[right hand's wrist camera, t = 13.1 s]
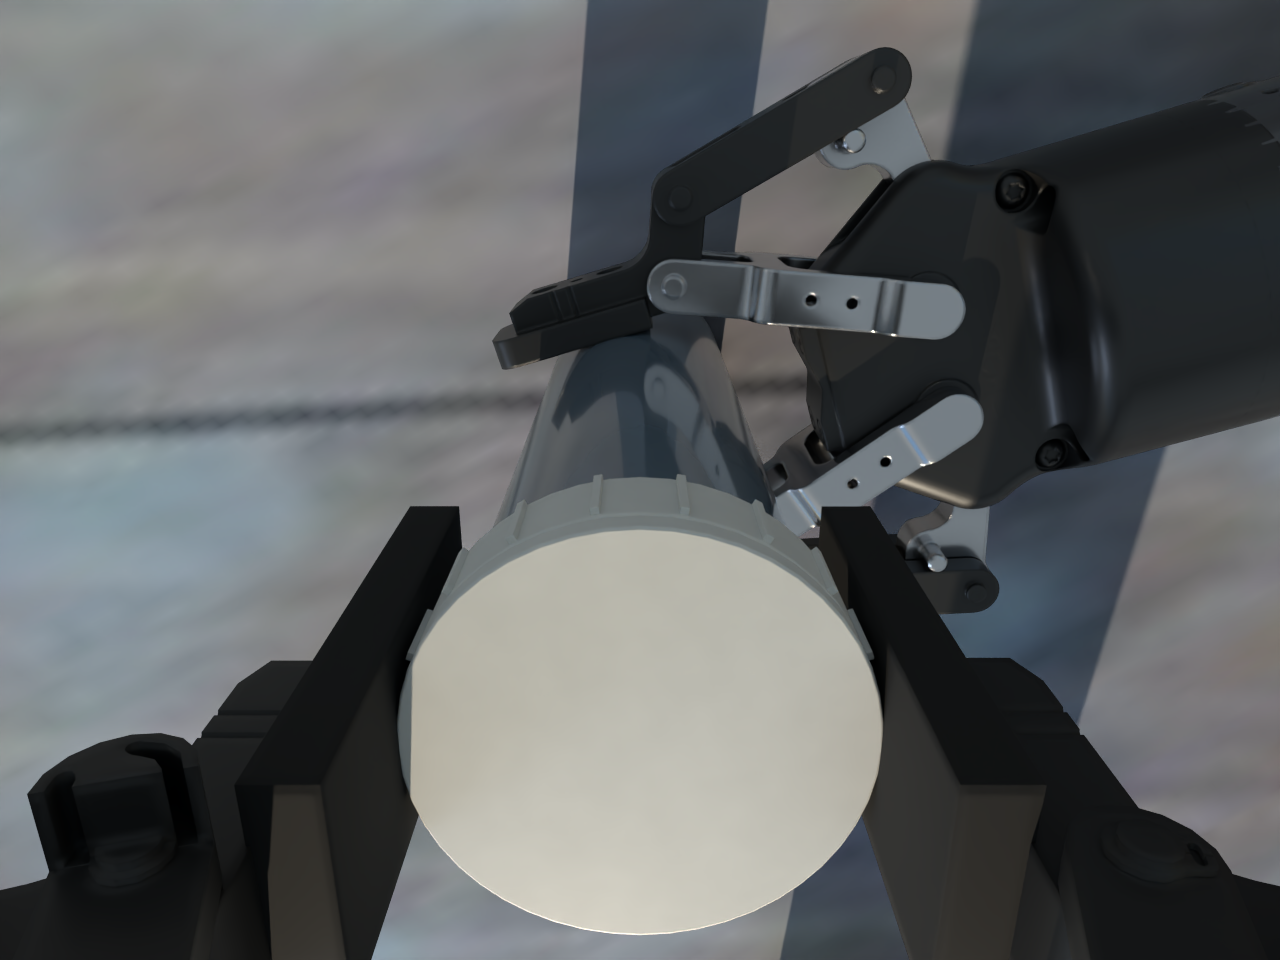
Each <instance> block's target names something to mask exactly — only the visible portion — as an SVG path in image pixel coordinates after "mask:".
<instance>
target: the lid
mask: <svg viewBox="0 0 1280 960" xmlns="http://www.w3.org/2000/svg"><path fill="white" fill-rule="evenodd" d="M872 659H874V655H873V652H872V649H871V647H870V645H869V643H868V641H867V639H866V636H865V634H864V632H863V630H862V628H861V625H860V623H859V621H858V619H857V617H856V614H855V612H854V610H853V609H849V610H847V609H846V607H845V604H844V602H843V600H842V598H841V596H840V594H839V592H838V589H837V587H836V585H835V583H834V580H833V578H832V576H831V573H830V571H829V569H828V567H827V564H826V562H825V560H824V558H823V555H822V553H821V551H820V550H819V549H818V548H817V547H815V548H814V549H812V550H810V549H809V548H808V547H807V546H806V544H805V543H804V542H803V541H802V540H801V539H800V538H799V537H798V536H796V535H795V534H794V533H793V532H792V531H790V530H789V529H788V528H787V527H786V526H785V525H783V524H782V523H781V522H780V521H778V520H777V519H775V518H774V517H772V516H770V515H769V514H767V513H766V512H765V509H764V506H763V503H762V502H760V501H758V500H756V499H755V500H754V502H753V503H752V504H750V503H748V502H746V501H744V500H742V499H739V498H737V497H735V496H733V495H731V494H729V493H726V492H722V491H719V490H716V489H713V488H710V487H707V486H704V485H700V484H695V483H690V482H687V481H686V475H681V474H677V477H676V480H674V479H664V478H647V477H633V478H617V479H607V480H603V475H602V474H600V475H594V478H593V482H591V483H585V484H580V485H577V486H574V487H570V488H567V489H564V490H561V491H558V492H555V493H552V494H549V495H547V496H545V497H543V498H541V499H539V500H537V501H535V502H532V503H530V504H527V503H526V501H525V500H523V501H521V502H519V503H517V506H516V509H515V512H514V513H513V514H512V515H510V516H508V517H507V518H505V519H504V520H502V521H501V522H499V523H498V524H497V525H496V526H495V527H493V528H492V529H491V530H490V531H489V532H488V533H486V534H485V535H484V536H483V537H482V538H481V539H479V540H478V541H477V543H476V544H475V545H474V546H473V547H472V548H471V549H470V550H469V551H468V550H467V549H465V548H462V549H461V551H460V552H459V553H458V556H457V558H456V560H455V562H454V565H453V567H452V569H451V571H450V574H449V576H448V578H447V580H446V583H445V585H444V587H443V590H442V592H441V595H440V597H439V599H438V601H437V603H436V605H435V608H434V610H433V611H432V610H429V609H427V611H426V613H425V615H424V618H423V620H422V622H421V624H420V626H419V629H418V631H417V633H416V635H415V637H414V639H413V642H412V644H411V646H410V648H409V650H408V653H407V656H406V660H408V661H411V662H410V664H409V666H408V669H407V672H406V676H405V679H404V683H403V686H402V690H401V693H400V699H399V707H398V716H397V731H398V741H399V751H400V759H401V767H402V773H403V777H404V780H405V783H406V786H407V789H408V792H409V794H410V797H411V800H412V802H413V804H414V806H415V808H416V810H417V812H418V814H419V816H420V818H421V819H422V821H423V823H424V825H425V826H426V828H427V829H428V831H429V832H430V833H431V835H432V836H433V838H434V839H435V840H436V842H437V843H438V845H439V846H440V847H441V848H442V849H443V850H444V852H445V853H446V854H447V855H448V856H449V857H450V858H451V859H452V860H453V861H454V862H455V863H456V864H457V865H458V866H459V867H460V868H461V869H462V870H463V871H465V872H466V873H467V874H468V875H469V876H471V877H472V878H473V879H474V880H475V881H477V882H478V883H479V884H480V885H482V886H483V887H485V888H486V889H488V890H489V891H491V892H493V893H494V894H496V895H497V896H499V897H500V898H502V899H503V900H505V901H507V902H509V903H511V904H513V905H515V906H517V907H519V908H521V909H523V910H525V911H527V912H530V913H532V914H535V915H538V916H540V917H543V918H546V919H549V920H551V921H554V922H557V923H561V924H565V925H569V926H573V927H577V928H581V929H585V930H592V931H599V932H605V933H613V934H634V935H647V934H667V933H675V932H682V931H688V930H695V929H700V928H704V927H708V926H712V925H715V924H719V923H723V922H727V921H729V920H732V919H735V918H737V917H740V916H743V915H745V914H748V913H751V912H753V911H755V910H757V909H759V908H761V907H763V906H765V905H767V904H769V903H771V902H773V901H775V900H777V899H779V898H780V897H782V896H783V895H785V894H786V893H788V892H789V891H791V890H792V889H794V888H796V887H797V886H799V885H800V884H802V883H803V882H804V881H805V880H806V879H808V878H809V877H810V876H811V875H812V874H813V873H815V872H816V871H817V870H818V869H819V868H821V867H822V866H823V865H824V864H825V863H826V862H827V861H828V859H829V858H830V857H831V856H832V855H833V854H834V853H835V852H836V851H837V850H838V849H839V848H840V847H841V845H842V844H843V842H844V841H845V840H846V838H847V837H848V835H849V834H850V833H851V831H852V830H853V828H854V827H855V826H856V824H857V822H858V820H859V818H860V816H861V815H862V813H863V811H864V809H865V807H866V805H867V803H868V801H869V799H870V796H871V793H872V790H873V787H874V784H875V781H876V778H877V776H878V770H879V764H880V755H881V746H882V736H883V722H884V721H883V712H882V704H881V696H880V692H879V688H878V685H877V681H876V678H875V675H874V671H873V668H872V665H871V663H870V661H869V660H872Z"/></svg>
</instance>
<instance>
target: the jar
mask: <svg viewBox="0 0 1280 960" xmlns="http://www.w3.org/2000/svg"><path fill="white" fill-rule="evenodd" d="M652 321H653V328H652V329H648V330H645V331H641V332H638V333H634V334H631V335H627V336H624V337H620V338H616V339H611V340H608V341H605V342H602V343H599V344H596V345H593V346H589V347H586V348H583V349H579V350H576V351H572V352H569V353H565V354H562V355H559V356H558V359H557V361H556V364H555V367H554V369H553V372H552V374H551V377H550V380H549V382H548V385H547V388H546V390H545V393H544V395H543V398H542V401H541V403H540V406H539V408H538V411H537V414H536V416H535V419H534V421H533V424H532V427H531V429H530V432H529V435H528V437H527V440H526V442H525V445H524V448H523V450H522V453H521V455H520V458H519V461H518V463H517V466H516V468H515V471H514V474H513V476H512V479H511V482H510V484H509V487H508V489H507V492H506V495H505V497H504V500H503V502H502V505H501V508H500V510H499V513H498V515H497V518H496V521H495V523H494V526H493V527H495V526H496V525H497V524H498V523H499V522H501V521H502V520H504V519H505V518H507V517H508V516H510V515H512V514H513V513H514V512H515V509H516V506H517V503H519V502H521V501H523V500H525V501H526V503H527V504H530V503H532V502H535V501H537V500H539V499H541V498H543V497H545V496H547V495H549V494H552V493H555V492H558V491H561V490H564V489H567V488H570V487H574V486H577V485H580V484H585V483H591V482H593V478H594V475H600V474H602V475H603V480H607V479H617V478H633V477H647V478H664V479H674V480H676V477H677V474H681V475H686V481H687V482H690V483H695V484H700V485H704V486H707V487H710V488H713V489H716V490H719V491H722V492H726V493H729V494H731V495H733V496H735V497H737V498H739V499H742V500H744V501H746V502H748V503H750V504H752V503H753V502H754V500H755V499H756V500H758V501H760V502H762V503H763V506H764V509H765V512H766V513H767V514H769V515H770V516H772V517H774V518H775V519H777V520H778V521H780V522H781V523H782V524H783V525H785V526H786V527H787V525H786V523H785V520H784V517H783V515H782V512H781V510H780V507H779V504H778V502H777V499H776V497H775V494H774V491H773V489H772V486H771V483H770V481H769V478H768V476H767V473H766V470H765V468H764V465H763V463H762V460H761V457H760V455H759V452H758V450H757V447H756V444H755V442H754V439H753V437H752V434H751V431H750V429H749V426H748V424H747V421H746V418H745V416H744V413H743V410H742V408H741V405H740V403H739V400H738V397H737V395H736V392H735V390H734V387H733V384H732V382H731V379H730V377H729V374H728V371H727V369H726V366H725V364H724V361H723V358H722V356H721V353H720V351H719V348H718V345H717V343H716V340H715V337H714V335H713V333H712V331H711V329H710V327H709V325H708V323H707V322H706V320H705V319H704V317H703V316H696V315H683V314H671V313H664V314H660V315H657V316H653V317H652Z"/></svg>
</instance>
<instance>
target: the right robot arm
mask: <svg viewBox="0 0 1280 960" xmlns="http://www.w3.org/2000/svg"><path fill="white" fill-rule="evenodd" d="M461 549H462V541H461V527H460V514H459V506H410V508H409V509H408V511H407V512H406V514H405V516H404V517H403V519H402V520H401V522H400V524H399V525H398V527H397V528H396V530H395V531H394V533H393V535H392V536H391V538H390V539H389V541H388V542H387V544H386V546H385V547H384V549H383V550H382V552H381V554H380V555H379V557H378V558H377V560H376V561H375V563H374V565H373V566H372V568H371V569H370V571H369V573H368V574H367V576H366V577H365V579H364V580H363V582H362V584H361V585H360V587H359V588H358V590H357V591H356V593H355V595H354V596H353V598H352V599H351V601H350V603H349V604H348V606H347V607H346V609H345V610H344V612H343V614H342V615H341V617H340V618H339V620H338V622H337V623H336V625H335V626H334V628H333V629H332V631H331V633H330V634H329V636H328V637H327V639H326V640H325V642H324V644H323V645H322V647H321V648H320V650H319V652H318V653H317V655H316V656H315V658H314V659H313V661H270V662H269V663H267V664H266V665H264V666H263V667H261V668H260V669H259V670H257V671H256V672H254V673H253V674H251V675H250V676H248V677H247V678H245V679H244V680H242V681H241V682H239V683H238V684H237V686H236V687H235V688H234V690H233V691H232V692H231V694H230V695H229V696H228V698H227V699H226V700H225V702H224V703H223V704H222V706H221V707H220V708H219V710H218V715H214V716H213V718H212V719H211V720H210V722H209V723H208V724H207V726H206V727H205V729H204V730H203V731H202V736H201V738H197V739H196V741H195V742H194V743H193V745H191V744H190V743H188V742H187V741H186V740H185V739H184V738H180V737H176V736H171V735H167V734H162V733H154V734H135V735H128V736H124V737H120V738H116V739H112V740H108V741H104V742H100V743H98V744H96V745H93V746H91V747H89V748H87V749H84V750H82V751H80V752H78V753H75V754H73V755H71V756H69V757H67V758H66V759H64V760H63V761H62V762H60V763H59V764H57V765H56V766H54V767H53V768H52V769H50V770H49V771H47V772H46V773H44V774H43V775H42V776H41V778H40V779H39V780H38V781H37V783H36V784H35V785H34V786H33V788H32V789H31V790H30V791H29V793H28V794H27V795H28V799H29V802H30V806H31V809H32V813H33V816H34V820H35V823H36V827H37V830H38V834H39V837H40V841H41V844H42V848H43V851H44V855H45V858H46V862H47V865H48V869H49V874H48V876H47V878H46V879H43V880H40V881H36V882H33V883H29V884H26V885H21V886H17V887H13V888H8V889H4V890H0V960H371V959H372V956H373V952H374V949H375V946H376V943H377V940H378V937H379V934H380V931H381V928H382V925H383V922H384V919H385V916H386V913H387V910H388V907H389V904H390V901H391V898H392V895H393V892H394V889H395V886H396V883H397V880H398V877H399V874H400V870H401V867H402V864H403V861H404V858H405V855H406V852H407V849H408V846H409V843H410V840H411V837H412V834H413V831H414V828H415V825H416V822H417V819H418V816H419V814H418V812H417V810H416V808H415V806H414V804H413V802H412V800H411V797H410V794H409V792H408V789H407V786H406V783H405V780H404V777H403V773H402V767H401V759H400V751H399V741H398V731H397V716H398V707H399V699H400V693H401V690H402V686H403V683H404V679H405V676H406V672H407V669H408V666H409V664H410V662H411V661H408V660H406V656H407V653H408V650H409V648H410V646H411V644H412V642H413V639H414V637H415V635H416V633H417V631H418V629H419V626H420V624H421V622H422V620H423V618H424V615H425V613H426V611H427V609H429V610H432V611H433V610H434V608H435V605H436V603H437V601H438V599H439V597H440V595H441V592H442V590H443V587H444V585H445V583H446V580H447V578H448V576H449V574H450V571H451V569H452V567H453V565H454V562H455V560H456V558H457V556H458V553H459V552H460V551H461ZM818 549H819V550H820V551H821V553H822V555H823V558H824V560H825V562H826V564H827V567H828V569H829V571H830V573H831V576H832V578H833V580H834V583H835V585H836V587H837V589H838V592H839V594H840V596H841V598H842V600H843V602H844V604H845V607H846V609H847V610H849V609H853V610H854V612H855V614H856V617H857V619H858V621H859V623H860V625H861V628H862V630H863V632H864V634H865V636H866V639H867V641H868V643H869V645H870V647H871V649H872V652H873V655H874V659H872V660H869V661H870V663H871V665H872V668H873V671H874V675H875V678H876V681H877V685H878V688H879V692H880V696H881V704H882V712H883V721H884V722H883V736H882V746H881V755H880V764H879V770H878V776H877V778H876V781H875V784H874V787H873V790H872V793H871V796H870V799H869V801H868V803H867V805H866V807H865V809H864V811H863V813H862V817H863V820H864V823H865V826H866V829H867V832H868V835H869V839H870V842H871V845H872V848H873V851H874V854H875V857H876V860H877V863H878V866H879V869H880V872H881V875H882V878H883V881H884V884H885V887H886V890H887V893H888V896H889V899H890V902H891V905H892V908H893V911H894V914H895V917H896V921H897V924H898V927H899V930H900V933H901V936H902V939H903V942H904V945H905V948H906V951H907V954H908V957H909V960H1280V886H1276V885H1272V884H1267V883H1263V882H1259V881H1254V880H1251V879H1247V878H1244V877H1241V876H1237V875H1234V874H1232V872H1231V870H1230V869H1229V867H1228V866H1227V864H1226V863H1225V861H1224V860H1223V859H1222V857H1221V856H1220V854H1219V853H1218V851H1217V850H1216V849H1215V848H1214V847H1213V846H1211V845H1210V844H1209V843H1208V842H1206V841H1205V840H1204V839H1203V838H1201V837H1200V836H1199V835H1198V834H1196V833H1195V832H1194V831H1193V830H1191V829H1189V828H1187V827H1185V826H1183V825H1181V824H1179V823H1177V822H1175V821H1173V820H1171V819H1169V818H1167V817H1165V816H1163V815H1161V814H1157V813H1154V812H1150V811H1146V810H1143V809H1139V808H1138V807H1137V805H1136V804H1135V803H1134V801H1133V800H1132V799H1131V797H1130V796H1129V795H1128V793H1127V792H1126V791H1125V789H1124V788H1123V787H1122V785H1121V784H1120V783H1119V781H1118V780H1117V778H1116V777H1115V776H1114V774H1113V773H1112V772H1111V770H1110V769H1109V768H1108V766H1107V765H1106V764H1105V762H1104V761H1103V760H1102V758H1101V757H1100V756H1099V754H1098V753H1097V752H1096V750H1095V749H1094V748H1093V746H1092V745H1091V744H1090V742H1089V741H1088V740H1087V738H1086V737H1085V736H1084V735H1080V732H1079V730H1080V729H1079V728H1078V726H1077V725H1076V724H1075V722H1074V721H1073V720H1072V718H1071V717H1070V716H1069V714H1068V713H1067V712H1063V706H1062V705H1061V704H1060V702H1059V701H1058V700H1057V698H1056V697H1055V696H1054V694H1053V693H1052V692H1051V690H1050V689H1049V688H1048V686H1047V685H1046V684H1045V682H1044V681H1043V680H1041V679H1040V678H1039V677H1037V676H1036V675H1034V674H1033V673H1031V672H1030V671H1028V670H1027V669H1025V668H1024V667H1022V666H1021V665H1019V664H1018V663H1016V662H1015V661H1014V660H1012V659H1011V658H966V657H965V655H964V654H963V652H962V651H961V649H960V647H959V646H958V644H957V643H956V641H955V640H954V638H953V636H952V635H951V633H950V632H949V630H948V629H947V627H946V625H945V624H944V622H943V621H942V619H941V617H940V616H939V614H938V613H937V611H936V610H935V608H934V606H933V605H932V603H931V602H930V600H929V599H928V597H927V595H926V594H925V592H924V591H923V589H922V587H921V586H920V584H919V583H918V581H917V580H916V578H915V576H914V575H913V573H912V572H911V570H910V568H909V567H908V565H907V564H906V562H905V561H904V559H903V557H902V556H901V554H900V553H899V551H898V550H897V548H896V546H895V545H894V543H893V542H892V540H891V538H890V537H889V535H888V534H887V532H886V531H885V529H884V527H883V526H882V524H881V523H880V521H879V519H878V518H877V516H876V515H875V513H874V512H873V510H872V508H871V507H870V506H822V508H821V521H820V534H819V548H818Z"/></svg>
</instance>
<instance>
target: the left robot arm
mask: <svg viewBox="0 0 1280 960" xmlns="http://www.w3.org/2000/svg"><path fill="white" fill-rule="evenodd" d="M911 81H912V71H911V67H910V64H909V62H908V60H907V58H906V57H905V56H904V55H903V54H902V53H901V52H899V51H898V50H896V49H893V48H888V47H883V48H878V49H874V50H872V51H869V52H867V53H864V54H862V55H859V56H857V57H854V58H852V59H850V60H847V61H845V62H844V63H842V64H840V65H839V66H837V67H835V68H834V69H832V70H830V71H829V72H827V73H825V74H824V75H822V76H820V77H818V78H817V79H815V80H813V81H812V82H810V83H808V84H807V85H805V86H803V87H802V88H800V89H798V90H797V91H795V92H793V93H792V94H790V95H788V96H786V97H785V98H783V99H781V100H780V101H778V102H776V103H775V104H773V105H771V106H770V107H768V108H766V109H765V110H763V111H761V112H759V113H758V114H756V115H754V116H753V117H751V118H749V119H748V120H746V121H744V122H743V123H741V124H739V125H738V126H736V127H734V128H732V129H731V130H729V131H727V132H726V133H724V134H722V135H721V136H719V137H717V138H716V139H714V140H712V141H711V142H709V143H707V144H706V145H704V146H702V147H700V148H699V149H697V150H695V151H694V152H692V153H690V154H689V155H687V156H685V157H684V158H682V159H680V160H679V161H677V162H675V163H673V164H672V165H670V166H668V167H667V168H665V169H663V170H662V171H661V172H660V173H659V174H658V175H657V176H656V178H655V179H654V181H653V184H652V189H651V209H650V224H649V235H648V239H647V242H646V245H645V247H644V248H643V250H642V251H641V252H640V253H639V254H638V255H637V256H636V257H635V258H633V259H632V260H630V261H627V262H625V263H621V264H618V265H615V266H611V267H608V268H604V269H601V270H598V271H594V272H591V273H588V274H584V275H581V276H578V277H574V278H572V279H568V280H564V281H561V282H558V283H554V284H551V285H547V286H544V287H541V288H537V289H534V290H533V291H531V292H530V293H529V294H528V295H526V296H525V297H524V298H523V299H522V300H520V301H519V302H518V303H517V304H516V305H515V307H514V308H513V309H512V310H511V312H510V313H509V314H510V317H511V320H512V323H513V324H511V325H509V326H507V327H504V328H503V329H501V330H500V331H499V332H498V334H497V335H496V336H495V338H494V339H493V344H494V347H495V350H496V353H497V356H498V359H499V361H500V364H501V367H502V369H513V368H517V367H520V366H524V365H527V364H531V363H534V362H538V361H541V360H545V359H548V358H552V357H555V356H558V355H562V354H565V353H569V352H572V351H576V350H579V349H583V348H586V347H589V346H593V345H596V344H599V343H602V342H605V341H608V340H611V339H616V338H620V337H624V336H627V335H631V334H634V333H638V332H641V331H645V330H648V329H652V328H653V321H652V317H653V316H657V315H660V314H664V313H671V314H683V315H696V316H710V317H723V318H736V319H744V320H749V321H752V322H755V323H760V324H766V325H776V326H789V329H790V334H791V338H792V342H793V344H794V346H795V347H796V349H797V351H798V353H799V355H800V356H801V358H802V360H803V362H804V364H805V365H806V368H807V394H806V401H807V406H808V410H809V414H810V418H811V422H812V424H810V425H809V426H807V427H806V428H804V429H803V430H801V431H800V432H799V433H797V434H796V435H794V436H793V437H791V438H790V439H788V440H787V441H786V442H785V443H783V444H782V445H781V446H780V448H779V449H778V450H777V452H776V454H775V456H774V457H773V458H772V459H770V460H769V461H768V462H766V463H765V464H763V465H764V468H765V470H766V473H767V476H768V478H769V481H770V483H771V486H772V489H773V491H774V494H775V497H776V499H777V502H778V504H779V507H780V510H781V512H782V515H783V517H784V520H785V523H786V525H787V528H788V529H789V530H790V531H792V532H793V533H794V534H795V535H796V536H798V537H799V536H801V535H802V534H804V533H805V532H807V531H808V530H810V529H812V528H814V527H817V526H820V521H821V508H822V506H863V505H864V504H866V503H867V502H869V501H870V500H872V499H873V498H875V497H876V496H878V495H879V494H881V493H882V492H884V491H885V490H887V489H888V488H890V487H891V486H893V485H894V486H897V487H900V488H903V489H906V490H909V491H912V492H915V493H918V494H920V495H923V496H926V497H929V498H932V499H935V500H938V501H941V502H940V504H939V505H938V507H937V508H936V509H935V510H934V511H932V512H931V513H929V514H927V515H925V516H921V517H916V518H913V519H909V520H907V521H906V522H905V523H904V524H903V525H902V527H901V528H900V529H899V531H898V534H888V535H889V537H890V538H891V540H892V542H893V543H894V545H895V546H896V548H897V550H898V551H899V553H900V554H901V556H902V557H903V559H904V561H905V562H906V564H907V565H908V567H909V568H910V570H911V572H912V573H913V575H914V576H915V578H916V580H917V581H918V583H919V584H920V586H921V587H922V589H923V591H924V592H925V594H926V595H927V597H928V599H929V600H930V602H931V603H932V605H933V606H934V608H935V610H936V611H937V613H938V614H954V613H974V612H979V611H982V610H985V609H987V608H988V607H990V606H991V605H992V604H993V603H994V602H995V600H996V599H997V596H998V594H999V584H998V581H997V579H996V578H995V576H994V575H993V574H992V573H991V572H990V570H989V569H988V567H987V565H986V562H985V558H986V546H987V534H988V522H989V511H990V506H992V505H994V504H996V503H998V502H1000V501H1001V500H1003V499H1005V498H1006V497H1007V496H1008V495H1009V494H1010V493H1012V492H1013V491H1014V490H1015V489H1016V488H1018V487H1019V486H1020V485H1022V484H1023V483H1025V482H1026V481H1028V480H1030V479H1031V478H1033V477H1035V476H1037V475H1040V474H1042V473H1046V472H1050V471H1056V470H1062V469H1070V468H1078V467H1085V466H1090V465H1096V464H1100V463H1103V462H1107V461H1111V460H1115V459H1119V458H1122V457H1126V456H1130V455H1134V454H1138V453H1141V452H1145V451H1149V450H1153V449H1157V448H1160V447H1164V446H1168V445H1172V444H1176V443H1179V442H1183V441H1187V440H1191V439H1195V438H1198V437H1202V436H1206V435H1210V434H1214V433H1217V432H1221V431H1225V430H1228V429H1232V428H1236V427H1240V426H1244V425H1247V424H1251V423H1255V422H1259V421H1263V420H1266V419H1270V418H1273V417H1277V416H1280V76H1277V77H1274V78H1271V79H1267V80H1264V81H1260V82H1247V83H1242V82H1241V83H1236V84H1232V85H1229V86H1226V87H1223V88H1220V89H1218V90H1215V91H1213V92H1210V93H1208V94H1206V95H1204V96H1203V97H1202V98H1201V99H1199V100H1197V101H1193V102H1190V103H1187V104H1183V105H1180V106H1176V107H1173V108H1170V109H1166V110H1163V111H1160V112H1156V113H1153V114H1150V115H1146V116H1143V117H1139V118H1136V119H1133V120H1129V121H1126V122H1123V123H1119V124H1116V125H1113V126H1109V127H1106V128H1103V129H1099V130H1096V131H1093V132H1089V133H1086V134H1083V135H1079V136H1076V137H1073V138H1069V139H1066V140H1062V141H1059V142H1056V143H1052V144H1049V145H1046V146H1042V147H1039V148H1036V149H1032V150H1029V151H1026V152H1022V153H1019V154H1016V155H1012V156H1009V157H1006V158H1002V159H999V160H995V161H992V162H988V163H985V164H979V165H972V166H965V165H960V164H957V163H953V162H950V161H944V160H931V158H930V155H929V153H928V151H927V148H926V146H925V144H924V141H923V139H922V137H921V134H920V132H919V130H918V127H917V125H916V123H915V120H914V118H913V116H912V113H911V111H910V109H909V106H908V104H907V102H906V99H905V96H906V95H907V93H908V91H909V88H910V86H911ZM813 153H814V154H815V156H816V157H817V159H818V160H819V161H820V162H821V163H822V164H823V165H825V166H827V167H829V168H834V169H841V170H849V169H853V168H856V167H858V166H861V165H865V164H868V165H871V166H873V167H874V168H876V169H877V170H878V171H879V172H880V174H881V175H882V177H883V179H882V181H881V182H880V183H879V184H878V185H877V187H876V188H875V189H874V190H873V191H872V193H871V194H870V195H869V196H868V198H867V199H866V200H865V201H864V202H863V204H862V205H861V206H860V207H859V208H858V210H857V211H856V212H855V213H854V214H853V216H852V217H851V218H850V219H849V221H848V222H847V223H846V224H845V225H844V227H843V228H842V229H841V230H840V231H839V233H838V234H837V235H836V236H835V238H834V239H833V240H832V241H831V242H830V244H829V245H828V246H827V247H826V248H825V250H824V251H823V252H822V253H821V255H820V256H819V257H814V256H801V255H788V254H776V253H763V252H741V253H738V252H723V251H711V250H702V247H703V235H704V224H705V216H706V215H708V214H710V213H711V212H713V211H715V210H717V209H718V208H720V207H722V206H723V205H725V204H727V203H729V202H730V201H732V200H734V199H736V198H737V197H739V196H741V195H743V194H744V193H746V192H748V191H749V190H751V189H753V188H755V187H756V186H758V185H760V184H762V183H763V182H765V181H767V180H768V179H770V178H772V177H774V176H775V175H777V174H779V173H781V172H782V171H784V170H786V169H787V168H789V167H791V166H793V165H794V164H796V163H798V162H800V161H801V160H803V159H805V158H807V157H808V156H810V155H812V154H813ZM851 479H852V480H851ZM849 480H851V481H849ZM801 540H802V541H803V542H804V543H805V544H806V546H807V547H808V548H809V549H810V550H812V549H814V548H815V547H817V548H819V538H807V539H801Z"/></svg>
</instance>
